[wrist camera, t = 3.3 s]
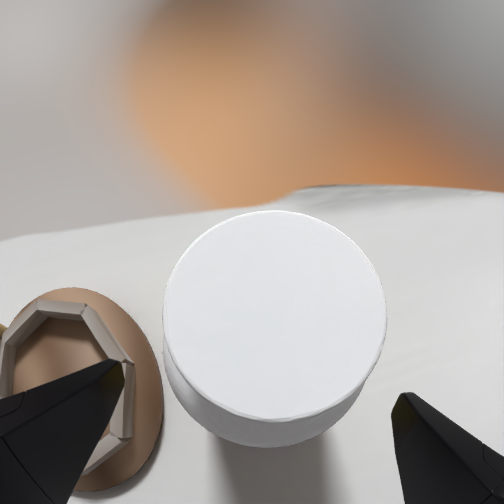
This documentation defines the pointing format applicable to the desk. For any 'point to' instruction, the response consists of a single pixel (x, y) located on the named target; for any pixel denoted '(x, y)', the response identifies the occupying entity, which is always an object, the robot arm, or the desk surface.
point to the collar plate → (84, 355)
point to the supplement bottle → (271, 327)
